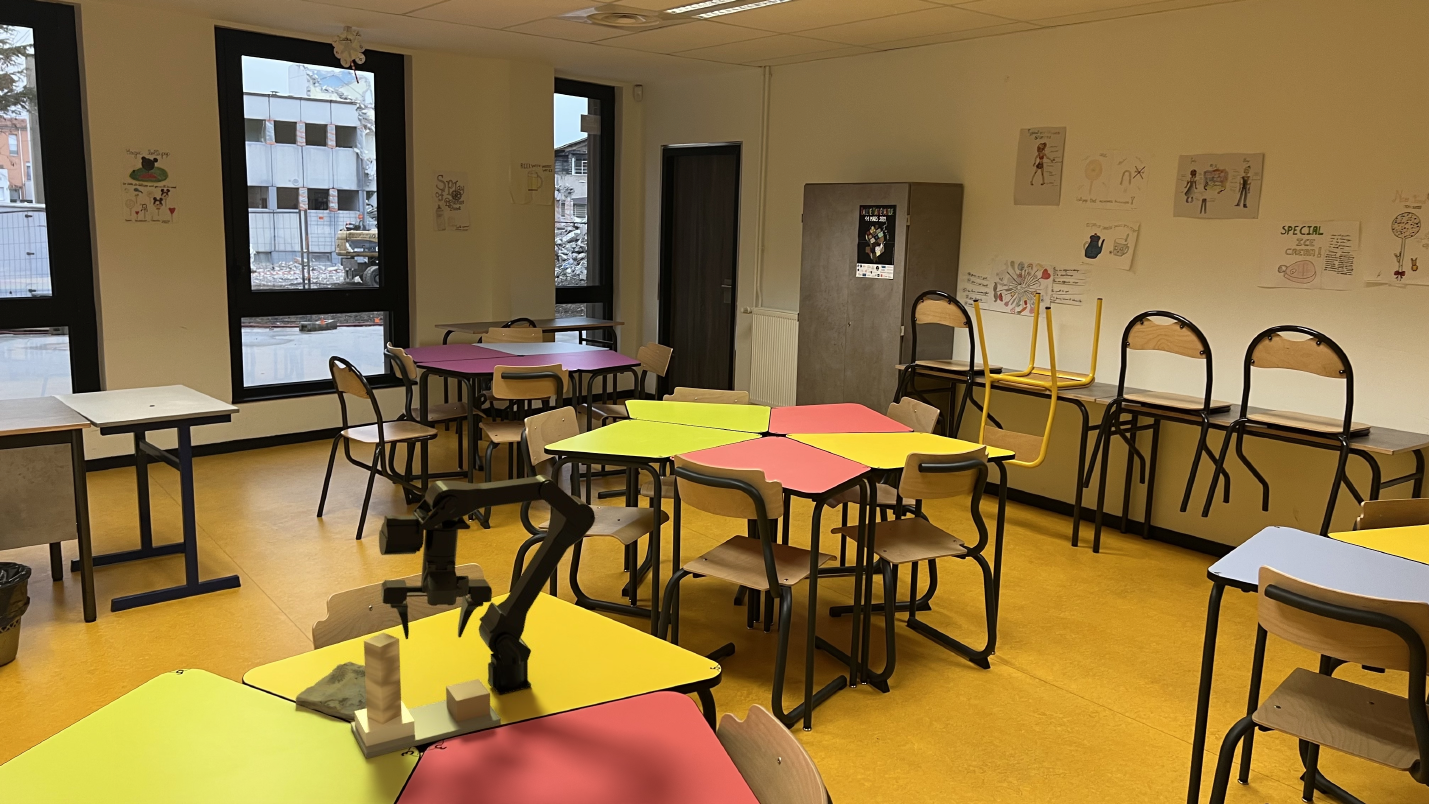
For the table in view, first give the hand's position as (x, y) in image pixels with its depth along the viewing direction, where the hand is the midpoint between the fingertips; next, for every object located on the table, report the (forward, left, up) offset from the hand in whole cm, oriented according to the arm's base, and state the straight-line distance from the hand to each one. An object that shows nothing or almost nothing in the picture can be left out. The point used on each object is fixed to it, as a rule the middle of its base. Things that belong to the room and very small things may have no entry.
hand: (433, 637), depth 180 cm
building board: (+4, +7, -13) cm, 15 cm away
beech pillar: (+11, +6, -9) cm, 16 cm away
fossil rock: (+12, -11, -14) cm, 22 cm away
